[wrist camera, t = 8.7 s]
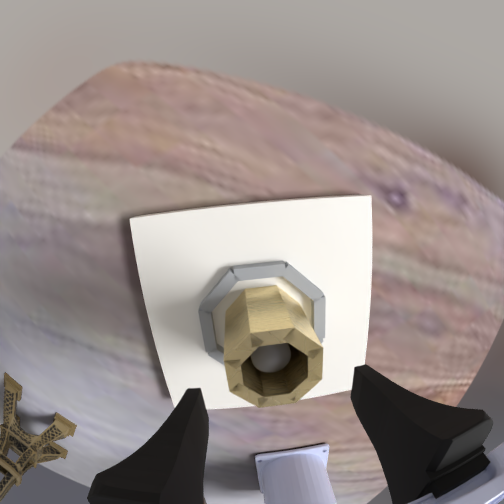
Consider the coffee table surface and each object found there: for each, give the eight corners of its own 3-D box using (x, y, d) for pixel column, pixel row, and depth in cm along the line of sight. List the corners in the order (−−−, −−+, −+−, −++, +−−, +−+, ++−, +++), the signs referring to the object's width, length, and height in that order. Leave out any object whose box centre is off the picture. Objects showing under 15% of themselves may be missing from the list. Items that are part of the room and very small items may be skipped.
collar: (300, 346, 20) (321, 398, 15) (231, 354, 20) (232, 410, 14) (298, 282, 19) (324, 322, 14) (222, 290, 19) (219, 335, 13)
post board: (355, 377, 23) (380, 420, 18) (177, 399, 23) (167, 448, 17) (362, 194, 20) (406, 200, 14) (136, 216, 19) (100, 229, 13)
